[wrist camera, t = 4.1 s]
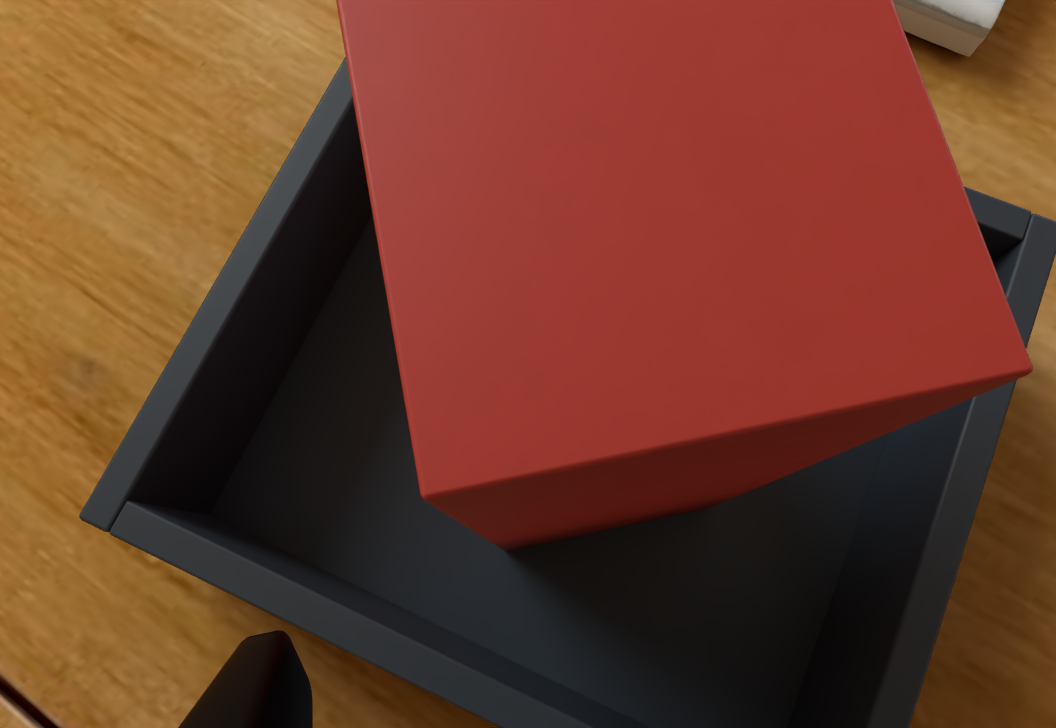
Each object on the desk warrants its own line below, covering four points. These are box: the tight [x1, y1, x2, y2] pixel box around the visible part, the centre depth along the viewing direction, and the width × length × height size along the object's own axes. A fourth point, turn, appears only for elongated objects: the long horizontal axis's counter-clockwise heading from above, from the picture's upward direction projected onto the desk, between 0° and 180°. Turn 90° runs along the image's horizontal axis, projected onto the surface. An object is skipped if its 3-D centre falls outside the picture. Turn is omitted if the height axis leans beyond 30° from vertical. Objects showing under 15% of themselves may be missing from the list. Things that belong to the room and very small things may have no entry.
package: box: [336, 0, 1032, 551], centre depth 13 cm, size 6×5×13 cm
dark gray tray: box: [79, 57, 1056, 728], centre depth 18 cm, size 15×13×5 cm
